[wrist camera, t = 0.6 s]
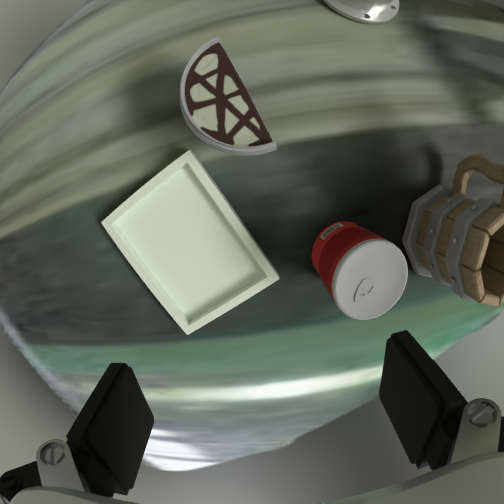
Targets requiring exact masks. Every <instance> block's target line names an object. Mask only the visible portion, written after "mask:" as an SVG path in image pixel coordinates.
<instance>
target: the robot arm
mask: <svg viewBox="0 0 504 504" xmlns="http://www.w3.org/2000/svg"><path fill="white" fill-rule="evenodd" d="M323 1H324V3H326V4H327V5H328V6H329V7H330V8H331V9H333V10H334V11H336V12H337V13H339V14H341V15H343V16H345V17H347V18H349V19H352V20H354V21H358V22H362V23H367V24H381V23H385V22H387V21H389V20H391V19H392V18H393V17H394V16H395V15H396V14H397V12H398V9H399V0H323ZM379 396H380V400H381V402H382V404H383V406H384V408H385V410H386V412H387V414H388V416H389V418H390V420H391V422H392V425H393V426H394V429H395V431H396V433H397V435H398V437H399V439H400V441H401V443H402V445H403V448H404V450H405V452H406V454H407V456H408V458H409V460H410V462H411V463H412V464H414V463H415V464H416V466H417V468H418V469H421V468H423V467H425V466H428V465H429V466H430V468H431V470H433V471H431V472H428V473H426V474H423V475H421V476H418V477H416V478H413V479H410V480H407V481H404V482H401V483H398V484H395V485H392V486H389V487H386V488H382V489H379V490H376V491H372V492H369V493H365V494H361V495H357V496H353V497H349V498H345V499H340V500H336V501H331V502H325V503H320V504H504V417H502V416H501V410H500V408H499V406H498V405H497V404H496V403H495V402H493V401H491V400H489V399H485V398H478V399H474V400H472V401H470V402H469V403H468V402H467V401H466V400H465V398H464V397H463V396H462V395H461V393H460V392H459V391H458V390H457V388H456V387H455V386H454V384H453V383H452V382H451V381H450V379H449V378H448V377H447V376H446V374H445V373H444V372H443V371H442V370H441V368H440V367H439V366H438V365H437V364H436V362H435V361H434V360H433V359H431V357H430V356H429V355H428V354H427V353H426V352H425V350H424V349H423V348H422V347H421V346H420V344H419V343H418V342H417V341H416V340H415V339H414V337H413V336H412V335H411V334H410V333H409V332H408V331H407V330H405V331H401V332H397V333H393V334H392V335H391V338H388V339H387V342H386V350H385V358H384V365H383V372H382V378H381V384H380V390H379ZM153 424H154V417H153V414H152V412H151V410H150V408H149V406H148V404H147V401H146V399H145V397H144V395H143V393H142V391H141V388H140V386H139V384H138V382H137V379H136V377H135V375H134V372H133V370H132V368H131V367H128V365H127V364H125V363H111V364H110V365H109V367H108V368H107V370H106V371H105V373H104V375H103V376H102V378H101V379H100V381H99V382H98V384H97V386H96V387H95V389H94V390H93V392H92V394H91V395H90V397H89V399H88V400H87V402H86V404H85V405H84V407H83V408H82V410H81V412H80V414H79V415H78V417H77V419H76V420H75V422H74V424H73V425H72V428H71V429H70V431H69V432H68V434H67V436H66V437H67V438H68V440H67V442H64V441H63V440H60V439H52V440H48V441H46V442H45V443H43V444H42V445H41V446H40V447H39V449H38V451H37V454H36V460H37V461H34V462H32V463H29V464H26V465H24V466H21V467H18V468H16V469H13V470H10V471H8V472H5V473H4V474H3V475H2V476H1V477H0V504H139V503H133V502H128V501H123V500H117V499H113V494H114V493H117V494H122V495H127V494H128V491H129V489H132V488H133V486H134V483H135V480H136V477H137V473H138V470H139V467H140V464H141V461H142V458H143V455H144V451H145V448H146V445H147V442H148V439H149V436H150V433H151V430H152V427H153Z"/></svg>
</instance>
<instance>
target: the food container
mask: <svg viewBox="0 0 504 504" xmlns="http://www.w3.org/2000/svg"><path fill="white" fill-rule="evenodd" d="M179 100H180V106H181V111H182V114H183V116H184V119H185V121H186V123H187V124H188V126H189V128H190V129H191V130H192V131H193V133H194V134H195V135H196V136H197V137H198V138H199V139H201V140H202V141H203V142H204V143H206V144H207V145H209V146H211V147H212V148H214V149H217V150H219V151H222V152H225V153H229V154H233V155H243V156H250V155H259V154H264V153H268V152H271V151H274V150H276V148H277V145H276V141H272V139H271V137H270V135H269V133H268V131H267V130H266V128H265V126H264V124H263V122H262V120H261V118H260V116H259V114H258V112H257V110H256V108H255V106H254V104H253V102H252V100H251V98H250V96H249V94H248V92H247V90H246V88H245V86H244V85H243V83H242V81H241V79H240V78H239V76H238V74H237V72H236V70H235V68H234V67H233V65H232V63H231V61H230V59H229V58H228V56H227V54H226V52H225V51H224V49H223V47H222V44H221V41H220V37H219V36H218V37H216V38H214V39H212V40H210V41H209V42H207V43H206V44H204V45H203V46H202V47H201V48H200V49H198V50H197V51H196V52H195V54H194V55H193V56H192V57H191V59H190V60H189V61H188V63H187V65H186V67H185V69H184V71H183V74H182V77H181V80H180V86H179Z"/></svg>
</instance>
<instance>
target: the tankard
mask: <svg viewBox="0 0 504 504" xmlns="http://www.w3.org/2000/svg"><path fill="white" fill-rule="evenodd" d="M474 172H482V173H483V174H484V175H486V176H487V177H488V178H490V179H491V180H493V181H494V182H497V183H501V184H504V165H502V164H497V163H494V162H492V161H491V160H489V159H488V158H486V157H485V156H483V155H481V154H476V155H470V156H468V157H467V158H466V159H464V160H463V161H461V162H460V163H459V164H458V167H457V171H456V174H455V177H454V182H453V189H450V188H448V187H446V186H444V185H437V186H436V187H434V188H433V189H431V190H430V191H428V192H427V193H426V194H424V195H423V196H421V197H420V198H418V199H417V200H415V201H414V202H412V205H411V209H410V213H409V217H408V221H407V224H406V228H405V231H404V235H403V238H402V242H403V245H404V247H405V249H406V252H407V254H408V257H409V260H410V262H411V265H412V267H413V270H414V272H415V273H417V274H418V275H422V276H426V277H430V278H434V279H435V280H437V281H438V282H440V283H442V284H446V285H448V286H452V289H453V292H454V293H456V294H457V295H459V296H460V297H461V298H463V299H467V300H472V301H477V302H479V303H482V304H487V305H492V306H499V305H501V304H502V303H503V302H504V189H503V194H502V198H501V203H500V204H499V203H498V202H495V201H493V200H490V199H485V198H480V199H478V200H476V199H475V198H474V197H470V196H468V195H466V186H467V181H468V178H469V175H470V174H472V173H474Z"/></svg>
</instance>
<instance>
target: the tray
mask: <svg viewBox="0 0 504 504" xmlns="http://www.w3.org/2000/svg"><path fill="white" fill-rule="evenodd" d="M101 223H102V225H103V226H104V228H105V229H106V231H107V232H108V233H109V235H110V236H111V238H112V239H113V241H114V242H115V243H116V245H117V246H118V248H119V249H120V250H121V252H122V253H123V255H124V256H125V257H126V259H127V260H128V262H129V263H130V264H131V266H132V267H133V268H134V270H135V271H136V272H137V274H138V275H139V276H140V278H141V279H142V280H143V281H144V283H145V284H146V285H147V287H148V288H149V289H150V290H151V292H152V293H153V294H154V295H155V297H156V298H157V299H158V300H159V302H160V303H161V304H162V305H163V307H164V308H165V309H166V310H167V312H168V313H169V314H170V315H171V316H172V318H173V319H174V320H175V321H176V322H177V323H178V325H179V326H180V327H181V328H182V329H183V330H184V332H185V333H186V334H187V335H188V334H190V333H192V332H193V331H195V330H197V329H199V328H200V327H202V326H204V325H205V324H207V323H209V322H210V321H212V320H214V319H215V318H217V317H219V316H220V315H222V314H224V313H225V312H227V311H229V310H230V309H232V308H233V307H235V306H237V305H238V304H240V303H242V302H243V301H245V300H247V299H248V298H250V297H251V296H253V295H255V294H256V293H258V292H259V291H261V290H263V289H264V288H266V287H267V286H269V285H271V284H272V283H274V282H275V281H277V280H279V279H280V278H279V275H278V272H277V271H276V269H275V268H274V267H273V265H272V264H271V262H270V261H269V259H268V258H267V256H266V255H265V254H264V252H263V251H262V249H261V248H260V246H259V245H258V243H257V242H256V241H255V239H254V238H253V236H252V235H251V233H250V232H249V230H248V229H247V228H246V226H245V225H244V223H243V222H242V220H241V219H240V218H239V216H238V215H237V213H236V212H235V210H234V209H233V208H232V206H231V205H230V203H229V202H228V200H227V199H226V198H225V196H224V195H223V193H222V192H221V190H220V189H219V188H218V186H217V185H216V183H215V182H214V180H213V179H212V178H211V176H210V175H209V173H208V172H207V171H206V169H205V168H204V166H203V165H202V163H201V162H200V161H199V159H198V158H197V156H196V155H195V154H194V152H193V151H191V150H188V151H187V152H186V153H184V154H183V155H182V156H180V157H179V158H178V159H176V160H175V161H174V162H172V163H171V164H170V165H169V166H167V167H166V168H165V169H163V170H162V171H161V172H160V173H158V174H157V175H156V176H155V177H153V178H152V179H151V180H150V181H148V182H147V183H146V184H145V185H143V186H142V187H141V188H140V189H139V190H137V191H136V192H135V193H134V194H133V195H132V196H130V197H129V198H128V199H127V200H126V201H125V202H123V203H122V204H121V205H120V206H119V207H118V208H117V209H115V210H114V211H113V212H112V213H111V214H110V215H109V216H108V217H107V218H106V219H104V220H103V221H102V222H101Z"/></svg>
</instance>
